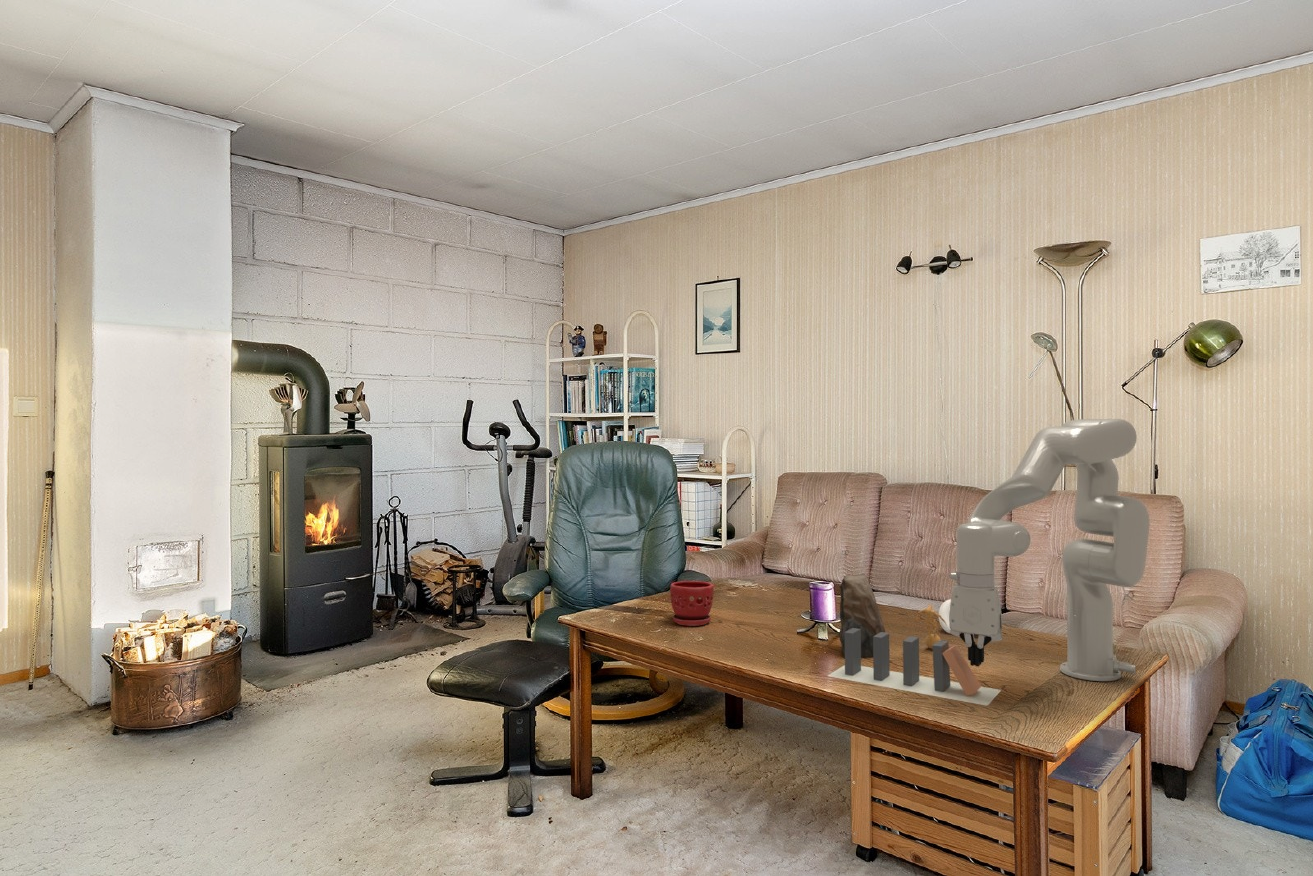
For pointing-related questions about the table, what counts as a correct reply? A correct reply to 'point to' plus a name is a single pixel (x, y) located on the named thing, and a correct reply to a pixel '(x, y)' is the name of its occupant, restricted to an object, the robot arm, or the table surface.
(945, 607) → the white knot sculpture
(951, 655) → the rust domino
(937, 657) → the slate domino
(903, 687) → the felt mat
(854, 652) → the slate domino
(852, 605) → the tall jagged boulder
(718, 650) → the table surface
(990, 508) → the robot arm
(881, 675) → the slate domino
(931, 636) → the figurine
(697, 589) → the plant pot
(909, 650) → the slate domino
